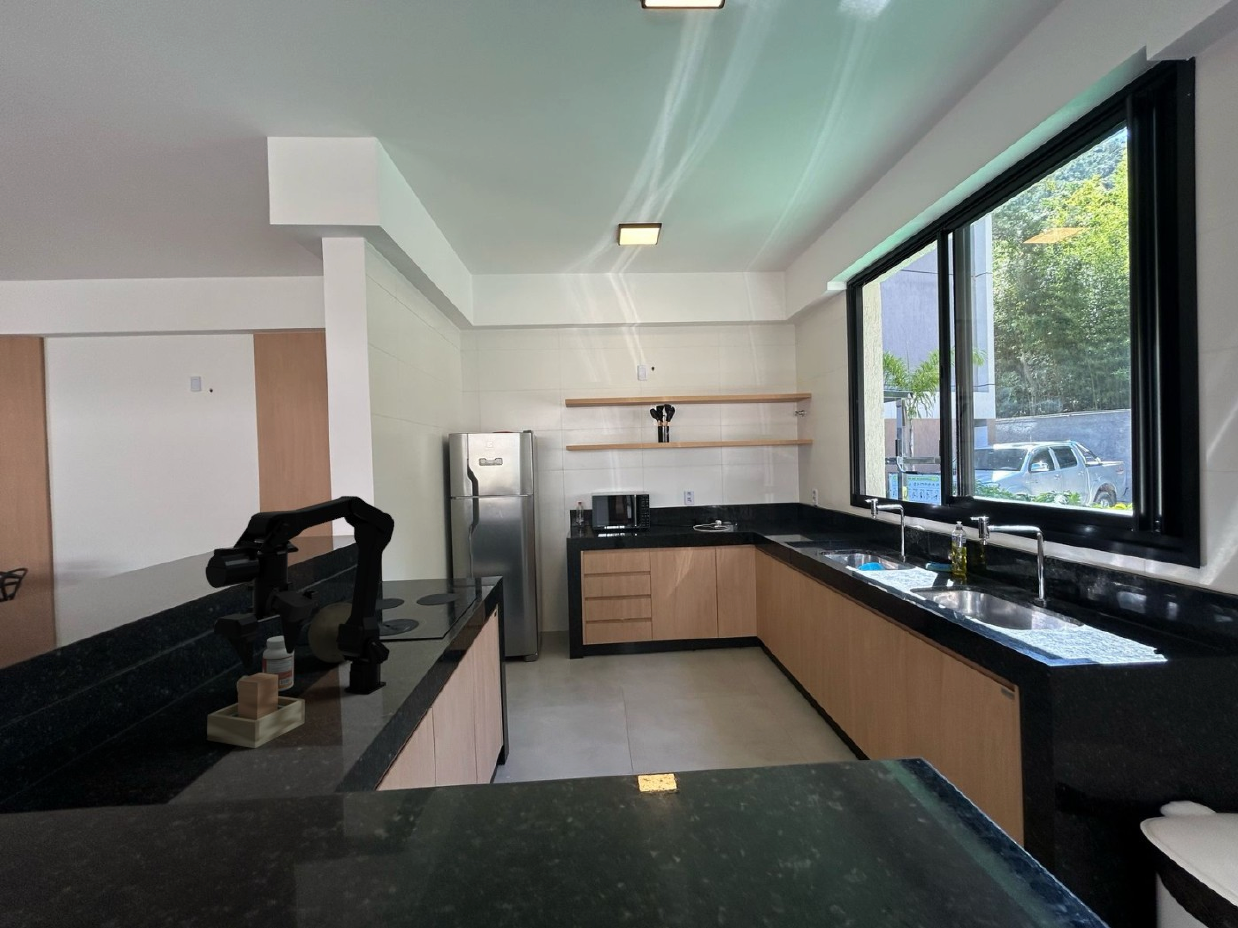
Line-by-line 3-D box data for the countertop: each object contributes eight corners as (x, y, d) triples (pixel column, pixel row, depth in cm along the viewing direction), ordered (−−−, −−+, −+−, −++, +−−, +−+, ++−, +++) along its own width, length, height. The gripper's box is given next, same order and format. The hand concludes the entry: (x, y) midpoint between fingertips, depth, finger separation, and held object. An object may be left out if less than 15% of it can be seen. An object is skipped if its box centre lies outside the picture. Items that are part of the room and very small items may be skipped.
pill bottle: (269, 683, 136) (270, 635, 136) (298, 682, 137) (298, 634, 137) (257, 693, 130) (257, 642, 130) (287, 692, 131) (288, 641, 131)
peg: (258, 719, 114) (259, 672, 114) (277, 722, 112) (278, 674, 112) (237, 729, 109) (238, 680, 109) (257, 732, 108) (257, 682, 108)
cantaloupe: (293, 667, 147) (294, 606, 147) (339, 651, 160) (340, 596, 160) (335, 674, 142) (336, 612, 142) (380, 658, 155) (380, 600, 155)
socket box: (259, 716, 118) (259, 693, 118) (304, 722, 115) (304, 699, 115) (207, 739, 107) (207, 714, 107) (255, 748, 104) (255, 722, 104)
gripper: (261, 590, 101) (261, 682, 101) (341, 572, 119) (341, 649, 119) (211, 586, 104) (211, 675, 104) (296, 569, 122) (296, 645, 122)
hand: (270, 660), depth 112 cm, fingers open, 9 cm apart
